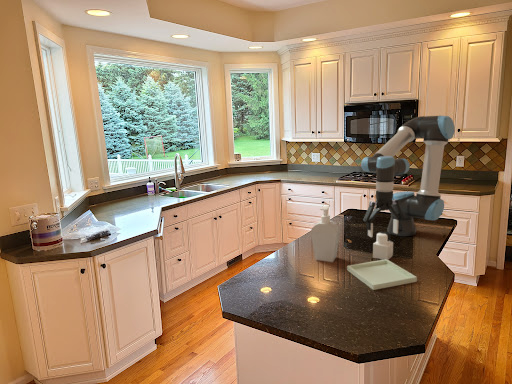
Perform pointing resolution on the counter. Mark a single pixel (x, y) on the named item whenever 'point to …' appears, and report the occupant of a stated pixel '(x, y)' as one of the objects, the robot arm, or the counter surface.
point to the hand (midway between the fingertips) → (382, 234)
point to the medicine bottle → (383, 246)
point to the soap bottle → (325, 237)
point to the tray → (381, 274)
